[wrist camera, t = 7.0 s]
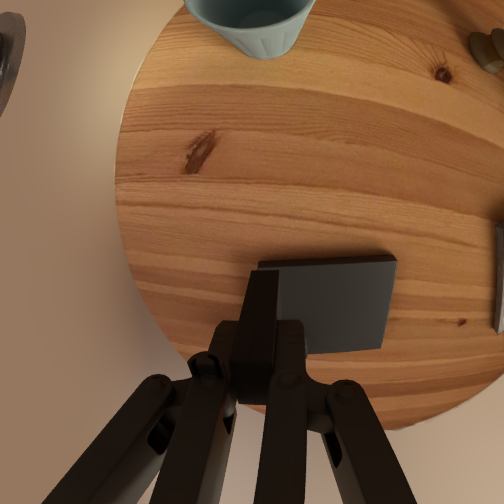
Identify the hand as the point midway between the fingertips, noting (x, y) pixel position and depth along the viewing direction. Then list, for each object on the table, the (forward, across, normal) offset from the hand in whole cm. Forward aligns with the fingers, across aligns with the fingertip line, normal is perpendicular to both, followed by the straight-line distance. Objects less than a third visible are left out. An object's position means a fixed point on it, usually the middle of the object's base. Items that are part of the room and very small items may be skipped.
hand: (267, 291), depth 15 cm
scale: (+12, +5, -10) cm, 16 cm away
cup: (+12, +1, +18) cm, 22 cm away
